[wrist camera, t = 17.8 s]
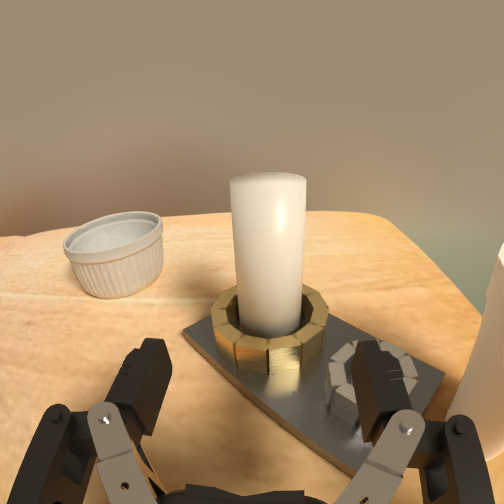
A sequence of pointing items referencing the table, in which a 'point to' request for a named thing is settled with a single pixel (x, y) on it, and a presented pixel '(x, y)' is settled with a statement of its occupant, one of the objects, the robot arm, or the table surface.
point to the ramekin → (117, 253)
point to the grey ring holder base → (305, 374)
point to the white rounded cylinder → (269, 251)
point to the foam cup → (486, 372)
